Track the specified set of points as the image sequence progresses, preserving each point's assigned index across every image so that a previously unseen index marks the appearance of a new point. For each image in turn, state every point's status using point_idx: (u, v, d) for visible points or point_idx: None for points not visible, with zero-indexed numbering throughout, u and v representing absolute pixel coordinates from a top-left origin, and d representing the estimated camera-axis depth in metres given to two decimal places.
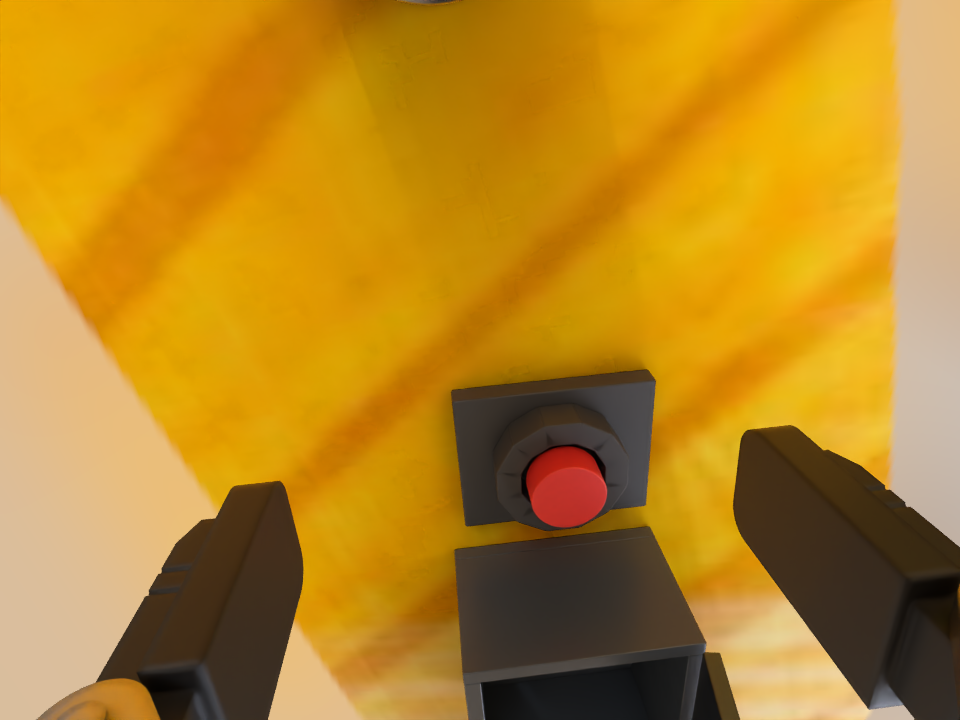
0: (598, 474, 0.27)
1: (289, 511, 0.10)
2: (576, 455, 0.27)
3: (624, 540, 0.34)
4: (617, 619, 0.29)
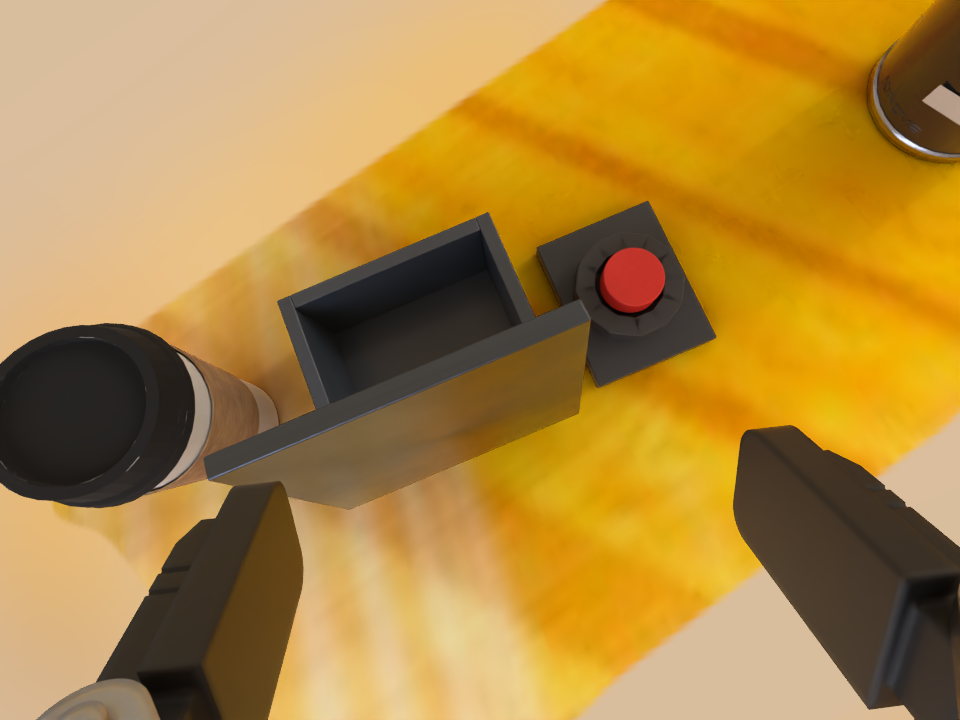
0: (661, 290, 0.34)
1: (289, 511, 0.10)
2: None
3: None
4: None
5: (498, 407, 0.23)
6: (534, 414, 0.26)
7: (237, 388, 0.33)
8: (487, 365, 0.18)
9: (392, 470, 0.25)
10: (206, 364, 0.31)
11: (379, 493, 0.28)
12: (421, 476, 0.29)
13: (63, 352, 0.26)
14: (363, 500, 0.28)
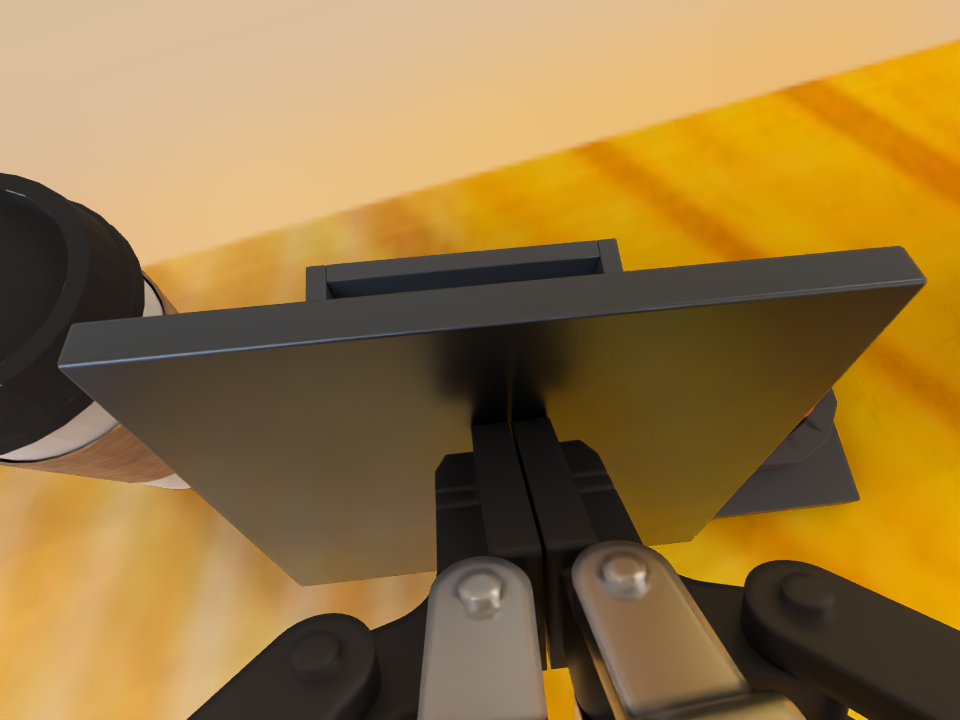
0: (811, 410, 0.25)
1: None
2: None
3: None
4: None
5: (622, 459, 0.13)
6: (647, 509, 0.16)
7: None
8: (700, 312, 0.09)
9: (398, 529, 0.15)
10: None
11: (357, 572, 0.18)
12: (430, 565, 0.18)
13: None
14: (329, 576, 0.18)
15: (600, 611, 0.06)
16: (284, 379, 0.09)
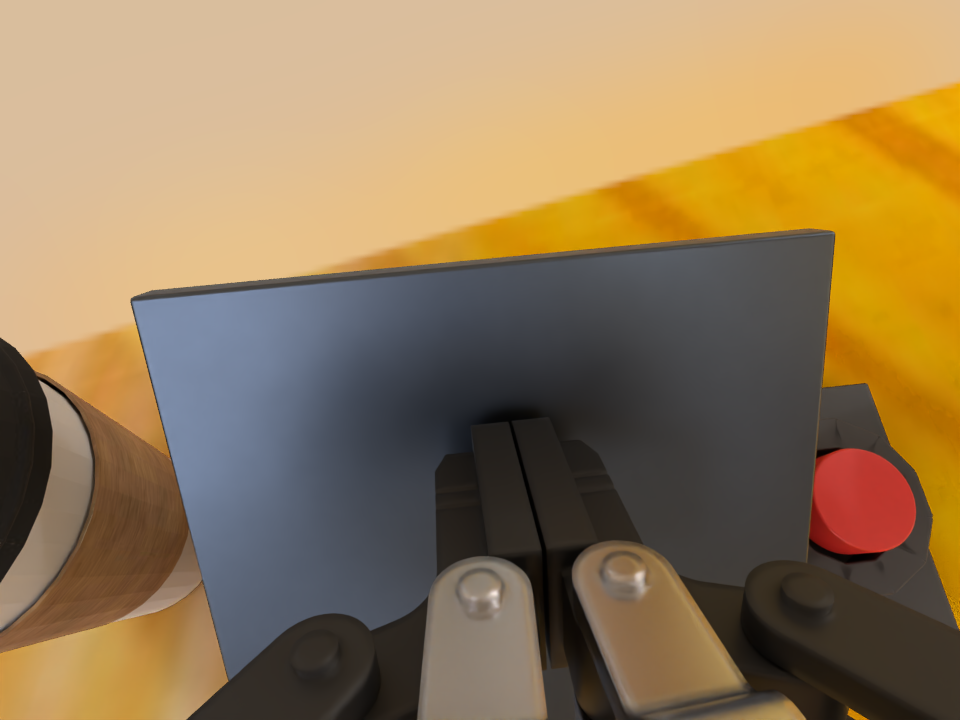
0: (908, 535, 0.20)
1: None
2: None
3: None
4: None
5: (642, 511, 0.12)
6: None
7: (163, 491, 0.19)
8: (652, 258, 0.10)
9: None
10: (120, 438, 0.17)
11: None
12: None
13: None
14: None
15: (600, 611, 0.06)
16: (306, 330, 0.10)
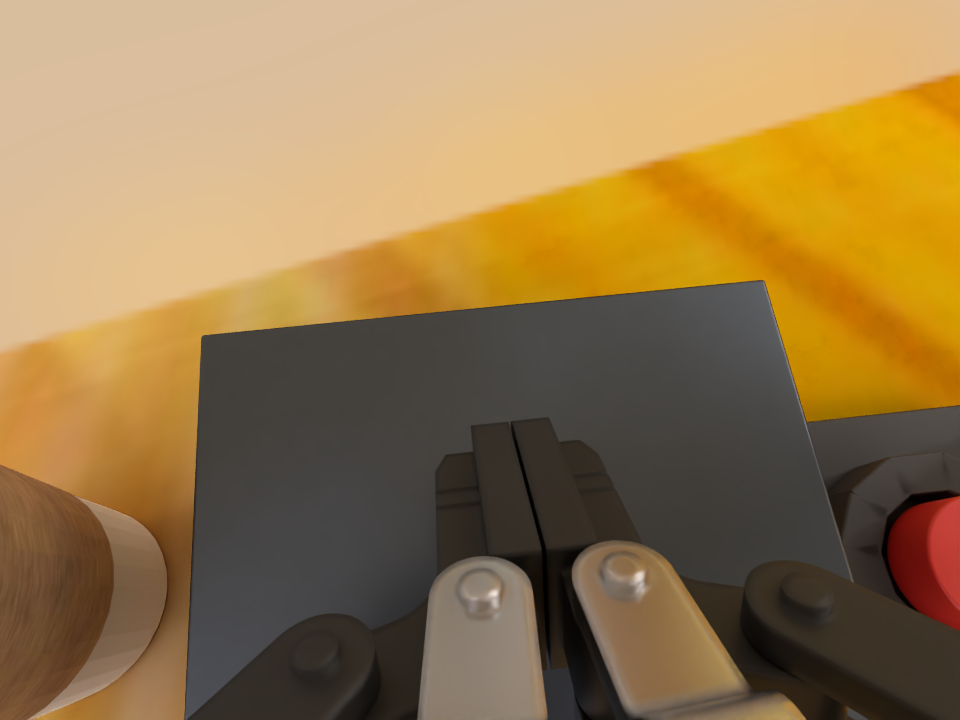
0: None
1: None
2: None
3: None
4: None
5: (656, 540, 0.11)
6: None
7: (65, 562, 0.14)
8: (617, 300, 0.13)
9: None
10: None
11: None
12: None
13: None
14: None
15: (600, 611, 0.06)
16: (335, 358, 0.12)
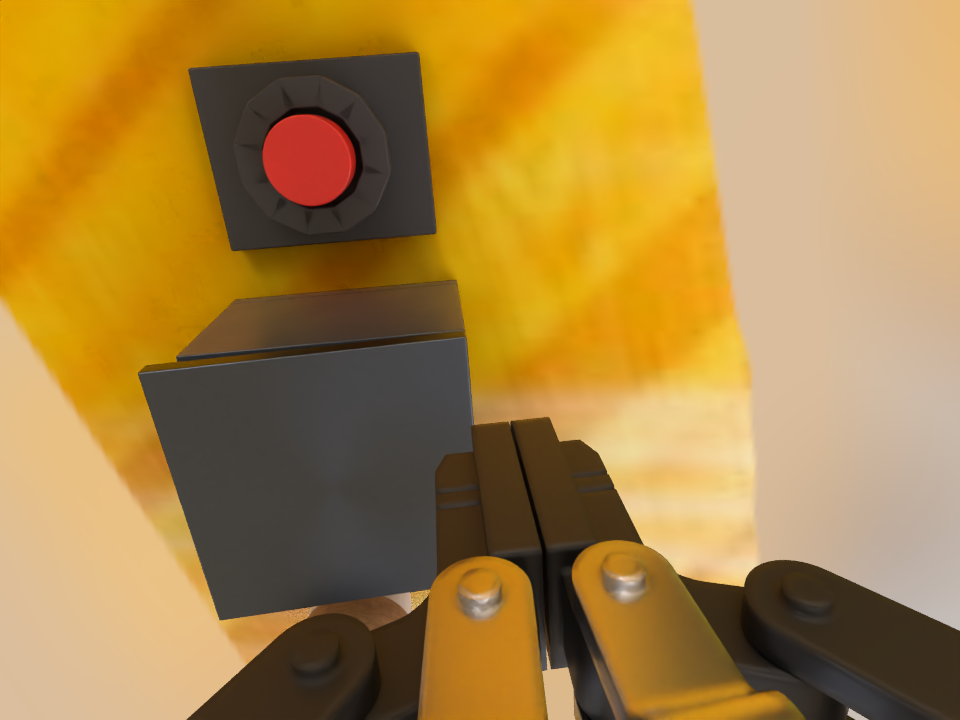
0: (336, 129, 0.24)
1: None
2: (317, 116, 0.24)
3: (423, 287, 0.30)
4: (376, 322, 0.25)
5: (298, 439, 0.24)
6: (381, 399, 0.24)
7: None
8: (167, 450, 0.23)
9: (385, 533, 0.26)
10: None
11: None
12: None
13: None
14: None
15: (600, 611, 0.06)
16: (223, 569, 0.26)
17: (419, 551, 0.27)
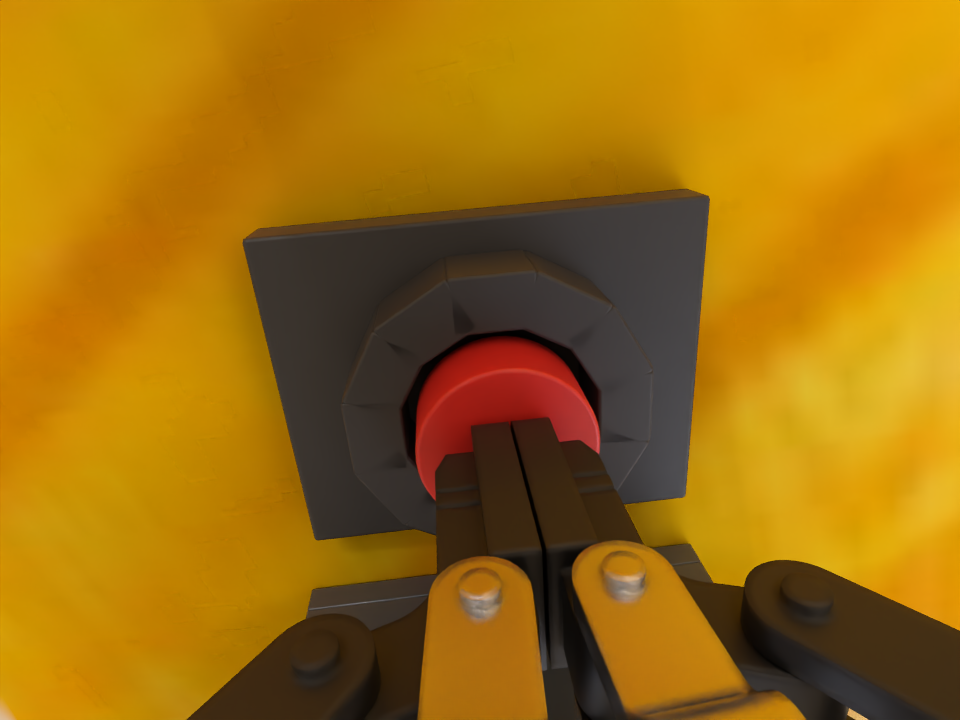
0: (577, 390, 0.11)
1: None
2: (525, 350, 0.11)
3: None
4: None
5: None
6: None
7: None
8: None
9: None
10: None
11: None
12: None
13: None
14: None
15: (600, 611, 0.06)
16: None
17: None
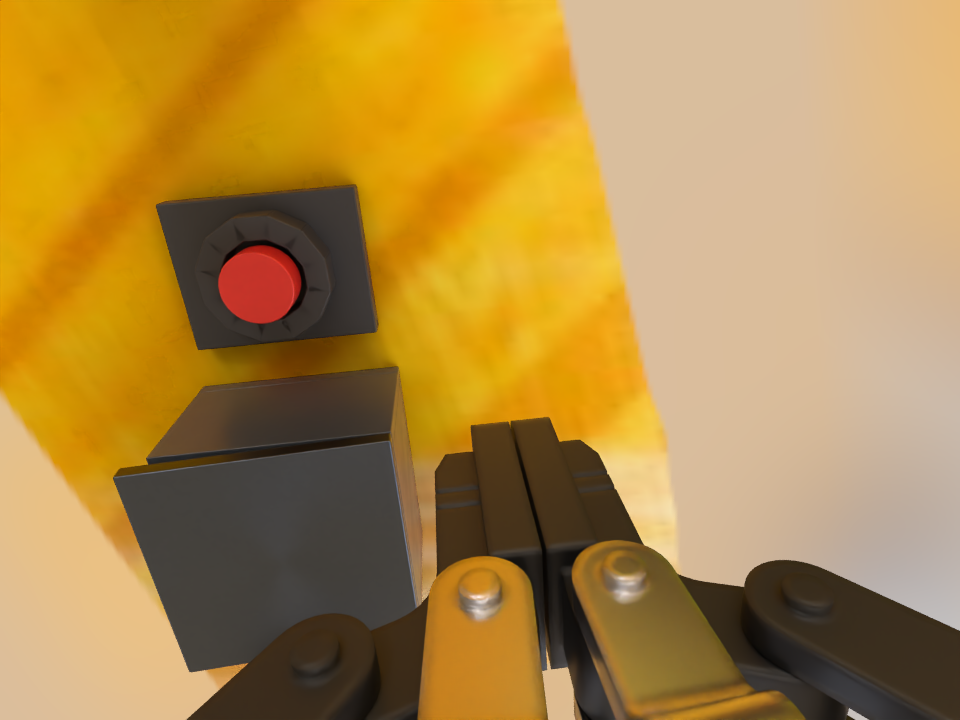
0: (280, 262, 0.28)
1: None
2: (265, 248, 0.28)
3: (367, 375, 0.34)
4: (319, 421, 0.30)
5: (251, 525, 0.28)
6: (320, 491, 0.28)
7: None
8: (139, 537, 0.28)
9: (330, 598, 0.30)
10: None
11: (401, 611, 0.31)
12: (398, 580, 0.31)
13: None
14: None
15: (600, 611, 0.06)
16: (191, 631, 0.30)
17: (360, 612, 0.31)
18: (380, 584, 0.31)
